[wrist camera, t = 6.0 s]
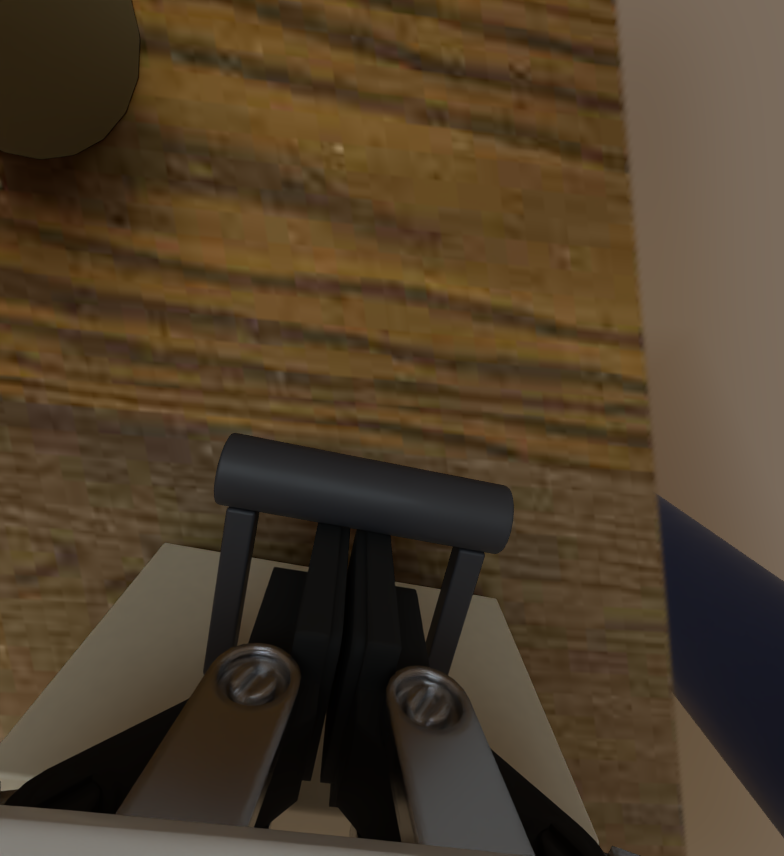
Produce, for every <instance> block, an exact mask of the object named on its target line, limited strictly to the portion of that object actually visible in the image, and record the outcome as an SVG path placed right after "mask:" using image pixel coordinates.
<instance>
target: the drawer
mask: <svg viewBox="0 0 784 856" xmlns="http://www.w3.org/2000/svg"><path fill="white" fill-rule="evenodd" d="M214 498H215V502H216V503H217V504H219V505H224V506H229V507H228V509H227V511H226V518H225V525H224V532H223V538H222V545H221V552H217V551H211V550H205V549H199V548H193V547H187V546H181V545H175V544H169V543H164V544H163V545H162V546H161V548H160V549H159V550H158V551H157V553H156V554H155V555H154V556H153V557H152V559H151V560H150V561H149V562H148V564H147V565H146V566H145V567H144V568H143V570H142V571H141V572H140V573H139V575H138V576H137V577H136V578H135V580H134V581H133V582H132V583H131V584H130V586H129V587H128V588H127V589H126V591H125V592H124V593H123V594H122V595H121V597H120V598H119V599H118V600H117V602H116V603H115V604H114V605H113V606H112V608H111V609H110V610H109V611H108V613H107V614H106V615H105V616H104V617H103V619H102V620H101V621H100V622H99V624H98V625H97V626H96V627H95V628H94V630H93V631H92V632H91V633H90V635H89V636H88V637H87V638H86V639H85V641H84V642H83V643H82V644H81V646H80V647H79V648H78V649H77V651H76V652H75V653H74V654H73V655H72V657H71V658H70V659H69V660H68V662H67V663H66V664H65V665H64V666H63V668H62V669H61V670H60V671H59V673H58V674H57V675H56V676H55V677H54V679H53V680H52V681H51V682H50V684H49V685H48V686H47V687H46V688H45V690H44V691H43V692H42V693H41V695H40V696H39V697H38V698H37V699H36V701H35V702H34V703H33V704H32V706H31V707H30V708H29V709H28V710H27V712H26V713H25V714H24V715H23V717H22V718H21V719H20V720H19V721H18V723H17V724H16V725H15V726H14V728H13V729H12V730H11V731H10V733H9V734H8V735H7V736H6V737H5V739H4V740H3V741H2V742H1V744H0V781H1V791H7V790H15V789H19V788H20V787H21V786H22V785H23V784H25V783H26V782H27V781H29V780H30V779H32V778H33V777H35V776H37V775H38V774H40V773H41V772H43V771H45V770H46V769H48V768H50V767H52V766H54V765H56V764H58V763H60V762H62V761H64V760H66V759H68V758H70V757H72V756H74V755H76V754H78V753H80V752H82V751H84V750H86V749H88V748H90V747H92V746H94V745H96V744H98V743H100V742H102V741H104V740H106V739H109V738H111V737H113V736H115V735H117V734H119V733H121V732H123V731H125V730H127V729H129V728H131V727H133V726H135V725H137V724H139V723H141V722H143V721H145V720H147V719H149V718H151V717H153V716H155V715H157V714H159V713H161V712H163V711H165V710H167V709H169V708H171V707H173V706H175V705H177V704H179V703H181V702H183V701H185V700H187V699H189V698H190V696H191V695H192V693H193V692H194V690H195V689H196V687H197V686H198V684H199V682H200V681H201V679H202V678H203V676H204V675H205V673H206V672H207V670H208V668H209V667H210V665H211V664H212V663H213V662H214V661H215V659H216V658H217V657H218V656H219V655H220V654H222V653H223V652H225V651H227V650H228V649H230V648H232V647H235V646H239V645H242V644H248V642H249V639H250V636H251V633H252V630H253V627H254V624H255V621H256V618H257V615H258V612H259V609H260V606H261V603H262V600H263V597H264V594H265V591H266V588H267V586H268V583H269V580H270V577H271V574H272V571H273V568H274V567H280V568H286V569H292V570H299V571H305V572H308V569H309V567H306V566H300V565H294V564H288V563H282V562H276V561H270V560H264V559H258V558H252V554H253V548H254V542H255V536H256V530H257V524H258V518H259V512H263V513H269V514H275V515H280V516H286V517H291V518H297V519H303V520H308V521H314V522H319V523H325V524H331V525H336V526H342V527H347V528H353V529H358V530H364V531H370V532H375V533H381V534H386V535H392V536H398V537H403V538H409V539H414V540H420V541H425V542H431V543H437V544H442V545H448V546H453V548H452V552H451V555H450V559H449V562H448V566H447V569H446V573H445V576H444V580H443V583H442V587H441V589H436V588H430V587H424V586H418V585H412V584H407V583H401V582H395V586H399V587H405V588H412V589H415V590H416V591H417V595H418V601H419V607H420V613H421V619H422V625H423V631H424V636H425V642H426V648H427V654H428V660H429V666H430V667H431V668H434V669H436V670H439V671H442V672H444V673H445V674H447V675H448V676H450V677H451V678H453V679H454V680H455V681H456V682H457V683H458V684H459V685H460V686H461V687H462V688H463V689H464V691H465V692H466V694H467V696H468V697H469V699H470V701H471V704H472V706H473V709H474V711H475V713H476V716H477V718H478V720H479V723H480V725H481V728H482V730H483V732H484V735H485V737H486V739H487V742H488V744H489V747H490V748H491V749H492V750H493V751H494V752H495V753H497V754H498V755H499V756H500V757H501V758H502V759H503V760H505V761H506V762H507V763H508V764H509V765H510V766H512V767H513V768H514V769H515V770H516V771H517V772H519V773H520V774H521V775H522V776H523V777H524V778H526V779H527V780H528V781H529V782H530V783H531V784H533V785H534V786H535V787H536V788H537V789H538V790H540V791H541V792H542V793H543V794H544V795H545V796H546V797H548V798H549V799H550V800H551V801H552V802H553V803H555V804H556V805H557V806H558V807H559V808H560V809H562V810H563V811H564V812H565V813H566V814H567V815H569V816H570V817H571V818H572V819H573V820H574V821H576V822H577V823H578V824H579V825H580V826H581V827H582V828H583V829H584V830H585V831H586V832H587V833H588V834H589V835H590V836H591V837H592V838H593V839H594V840H595V841H596V842H597V843H598V845H599V840H598V837H597V835H596V833H595V830H594V828H593V826H592V823H591V821H590V819H589V816H588V814H587V811H586V809H585V807H584V804H583V802H582V800H581V797H580V795H579V793H578V790H577V788H576V785H575V783H574V781H573V778H572V776H571V774H570V771H569V769H568V767H567V764H566V762H565V760H564V757H563V755H562V752H561V750H560V748H559V745H558V743H557V741H556V738H555V736H554V734H553V731H552V729H551V726H550V724H549V722H548V719H547V717H546V715H545V712H544V710H543V708H542V705H541V703H540V700H539V698H538V696H537V693H536V691H535V689H534V686H533V684H532V682H531V679H530V677H529V674H528V672H527V670H526V667H525V665H524V663H523V660H522V658H521V656H520V653H519V651H518V649H517V646H516V644H515V641H514V639H513V637H512V634H511V632H510V630H509V627H508V625H507V623H506V620H505V618H504V615H503V613H502V611H501V608H500V606H499V604H498V601H497V600H496V599H495V598H490V597H484V596H478V595H473V593H474V589H475V586H476V583H477V580H478V576H479V573H480V570H481V567H482V563H483V560H484V557H485V554H484V552H487V553H492V554H497V553H499V552H501V551H502V550H503V549H504V547H505V545H506V544H507V541H508V539H509V536H510V533H511V529H512V523H513V514H514V504H513V497H512V493H511V491H510V489H509V488H508V487H506V486H504V485H499V484H494V483H489V482H484V481H479V480H473V479H468V478H463V477H458V476H453V475H448V474H443V473H438V472H433V471H427V470H422V469H417V468H412V467H407V466H402V465H397V464H392V463H386V462H381V461H376V460H371V459H366V458H361V457H356V456H351V455H346V454H340V453H335V452H330V451H325V450H320V449H315V448H310V447H305V446H299V445H294V444H289V443H284V442H279V441H274V440H269V439H264V438H259V437H253V436H248V435H243V434H238V433H233V434H231V435H230V436H229V438H228V439H227V441H226V443H225V445H224V448H223V450H222V453H221V456H220V459H219V463H218V467H217V471H216V476H215V484H214ZM325 720H326V716H325ZM325 720H324V725H323V729H322V734H321V738H320V743H319V747H318V752H317V756H316V761H315V765H314V769H313V774H312V778H311V781H302V782H301V787H300V792H299V796H298V801H297V802H295V803H294V804H293V805H292V806H290V807H289V808H288V809H287V810H285V811H284V812H283V813H282V814H280V815H279V816H278V817H277V818H275V819H274V820H273V821H272V824H271V829H273V830H283V831H293V832H303V833H313V834H323V835H333V836H343V837H349V830H350V827H351V823H350V822H349V821H348V819H347V818H346V817H345V816H344V814H343V813H342V812H341V811H340V810H339V808H338V807H329V797H330V784H329V783H320V773H321V762H322V752H323V741H324V731H325Z"/></svg>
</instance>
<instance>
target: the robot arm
mask: <svg viewBox="0 0 784 856" xmlns="http://www.w3.org/2000/svg"><path fill="white" fill-rule="evenodd" d="M349 537H350V528H346V527H342V526H336V525H331V524H325V523H319V522H318V526H317V531H316V536H315V540H314V545H313V550H312V555H311V559H310V564H309V569H308V572H305V571H299V570H292V569H286V568H280V567H274V568H273V571H272V574H271V577H270V580H269V583H268V586H267V588H266V591H265V594H264V597H263V600H262V603H261V606H260V609H259V612H258V615H257V618H256V621H255V624H254V627H253V630H252V633H251V636H250V639H249V642H248V644H242V645H239V646H235V647H232V648H230V649H228V650H227V651H225V652H223V653H222V654H220V655H219V656H218V657H217V658H216V659H215V661H214V662H213V663H212V664H211V665H210V667H209V668H208V670H207V672H206V673H205V675H204V676H203V678H202V679H201V681H200V682H199V684H198V686H197V687H196V689H195V690H194V692H193V693H192V695H191V696H190V698H189V699H187V700H185V701H183V702H181V703H179V704H177V705H175V706H173V707H171V708H169V709H167V710H165V711H163V712H161V713H159V714H157V715H155V716H153V717H151V718H149V719H147V720H145V721H143V722H141V723H139V724H137V725H135V726H133V727H131V728H129V729H127V730H125V731H123V732H121V733H119V734H117V735H115V736H113V737H111V738H109V739H106V740H104V741H102V742H100V743H98V744H96V745H94V746H92V747H90V748H88V749H86V750H84V751H82V752H80V753H78V754H76V755H74V756H72V757H70V758H68V759H66V760H64V761H62V762H60V763H58V764H56V765H54V766H52V767H50V768H48V769H46V770H45V771H43V772H41V773H40V774H38V775H37V776H35V777H33V778H32V779H30V780H29V781H27V782H26V783H25V784H23V785H22V786H21V787H20V788H19V789H15V790H7V791H1V781H0V856H640V855H637V854H634V853H631V852H628V851H626V850H623V849H620V848H617V847H614V846H611V849H610V851H609V853H605V852H603V851H602V849H601V848H600V846H599V845H598V843H597V842H596V841H595V840H594V839H593V838H592V837H591V836H590V835H589V834H588V833H587V832H586V831H585V830H584V829H583V828H582V827H581V826H580V825H579V824H578V823H577V822H576V821H574V820H573V819H572V818H571V817H570V816H569V815H567V814H566V813H565V812H564V811H563V810H562V809H560V808H559V807H558V806H557V805H556V804H555V803H553V802H552V801H551V800H550V799H549V798H548V797H546V796H545V795H544V794H543V793H542V792H541V791H540V790H538V789H537V788H536V787H535V786H534V785H533V784H531V783H530V782H529V781H528V780H527V779H526V778H524V777H523V776H522V775H521V774H520V773H519V772H517V771H516V770H515V769H514V768H513V767H512V766H510V765H509V764H508V763H507V762H506V761H505V760H503V759H502V758H501V757H500V756H499V755H498V754H497V753H495V752H494V751H493V750H492V749H491V748H490V747H489V744H488V742H487V739H486V737H485V735H484V732H483V730H482V728H481V725H480V723H479V720H478V718H477V716H476V713H475V711H474V709H473V706H472V704H471V701H470V699H469V697H468V696H467V694H466V692H465V691H464V689H463V688H462V687H461V686H460V685H459V684H458V683H457V682H456V681H455V680H454V679H453V678H451V677H450V676H448V675H447V674H445V673H444V672H442V671H439V670H436V669H434V668H431V667H430V666H429V660H428V654H427V648H426V642H425V636H424V631H423V625H422V619H421V613H420V607H419V601H418V595H417V591H416V590H415V589H412V588H405V587H399V586H395V577H394V567H393V557H392V547H391V537H390V535H386V534H381V533H375V532H370V531H364V530H358V529H357V530H356V534H355V539H354V543H353V548H352V552H351V557H350V562H349V566H348V571H347V565H348V551H349ZM325 716H326V720H325ZM324 720H325V731H324V741H323V752H322V762H321V773H320V783H329V784H330V797H329V807H338V808H339V810H340V811H341V812H342V813H343V814H344V816H345V817H346V818H347V819H348V821H349V822H350V823H351V827H350V830H349V837H343V836H333V835H323V834H313V833H303V832H293V831H283V830H273V829H271V824H272V821H273V820H274V819H275V818H277V817H278V816H279V815H280V814H282V813H283V812H284V811H285V810H287V809H288V808H289V807H290V806H292V805H293V804H294V803H295V802H297V801H298V796H299V792H300V787H301V782H302V781H311V778H312V774H313V769H314V765H315V761H316V756H317V752H318V747H319V743H320V738H321V734H322V729H323V725H324Z"/></svg>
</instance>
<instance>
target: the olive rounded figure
mask: <svg viewBox="0 0 784 856" xmlns="http://www.w3.org/2000/svg"><path fill="white" fill-rule="evenodd" d="M139 41H140V36H139V31H138V27H137V23H136V19H135V14H134V10H133V6H132V1H131V0H0V150H1V151H3V152H6V153H11V154H16V155H21V156H26V157H31V158H36V159H47V158H55V157H63V156H70V155H75V154H77V153H79V152H81V151H82V150H84V149H86V148H88V147H90V146H92V145H93V144H95V143H97V142H99V141H101V140H102V139H104V138H105V137H106V135H107V134H108V133H109V132H110V131H111V129H112V128H113V127H114V126H115V124H116V123H117V122H118V121H119V120H120V118H121V117H122V116H123V115H124V114H125V112H126V110H127V107H128V104H129V101H130V98H131V96H132V93H133V90H134V87H135V85H136V82H137V79H138V66H139Z"/></svg>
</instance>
